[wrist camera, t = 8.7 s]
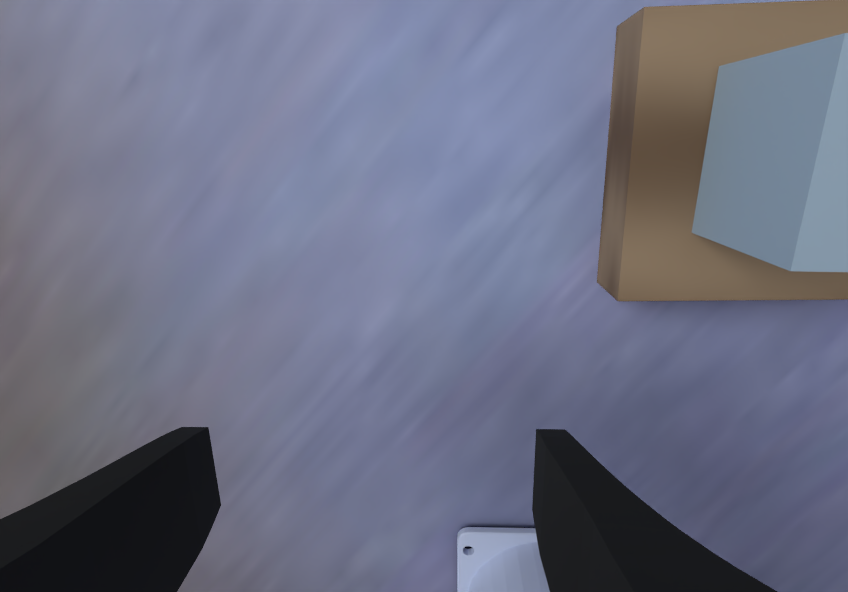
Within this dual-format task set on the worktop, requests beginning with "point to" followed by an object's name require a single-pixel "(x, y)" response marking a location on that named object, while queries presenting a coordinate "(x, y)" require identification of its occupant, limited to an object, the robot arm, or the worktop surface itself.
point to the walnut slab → (690, 151)
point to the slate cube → (780, 158)
